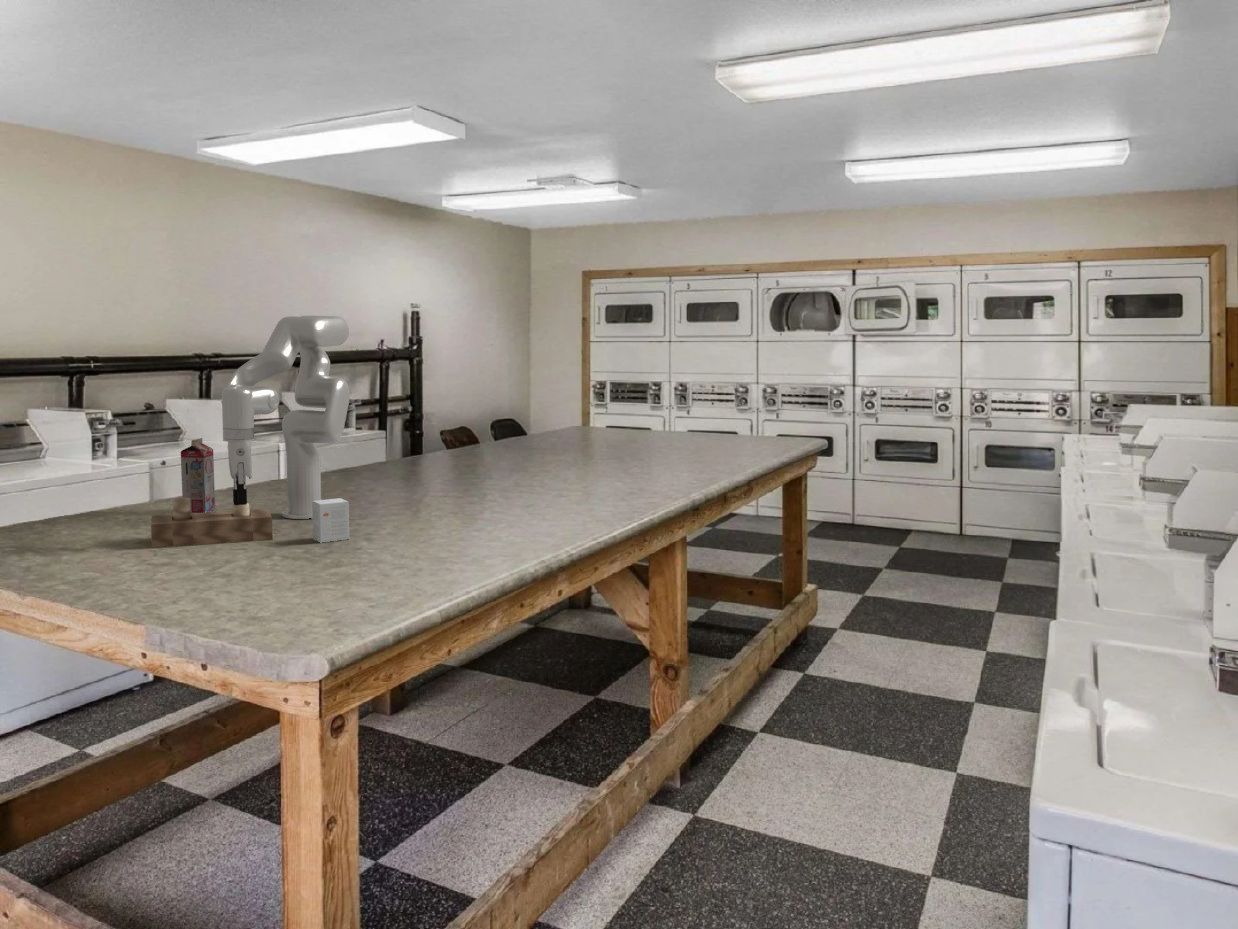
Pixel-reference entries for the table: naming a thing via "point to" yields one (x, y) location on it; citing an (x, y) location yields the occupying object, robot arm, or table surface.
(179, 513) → the peg
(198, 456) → the juice carton
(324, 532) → the small box
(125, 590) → the table surface
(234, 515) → the peg
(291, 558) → the table surface
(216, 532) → the press block
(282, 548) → the table surface
